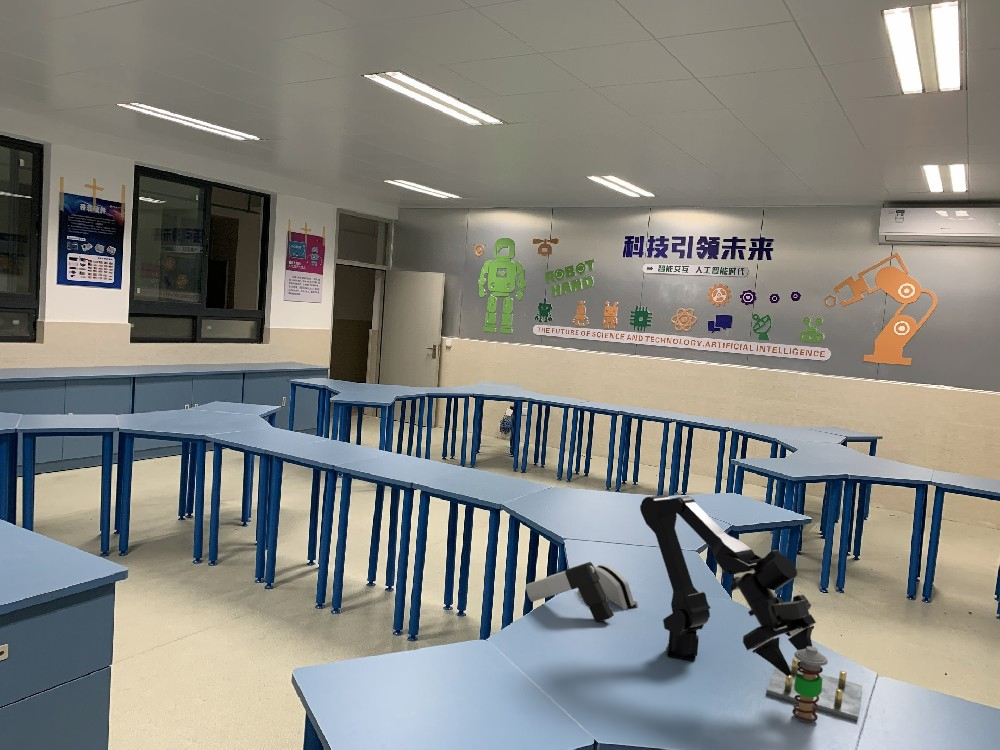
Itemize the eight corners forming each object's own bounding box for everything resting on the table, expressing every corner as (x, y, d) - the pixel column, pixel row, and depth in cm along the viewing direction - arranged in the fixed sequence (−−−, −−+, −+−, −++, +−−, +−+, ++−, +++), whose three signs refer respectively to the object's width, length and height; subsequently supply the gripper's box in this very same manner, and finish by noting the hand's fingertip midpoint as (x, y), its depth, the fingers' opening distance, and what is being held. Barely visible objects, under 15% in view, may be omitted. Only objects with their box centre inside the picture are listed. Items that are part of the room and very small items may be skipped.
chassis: (766, 694, 159) (767, 676, 159) (777, 667, 173) (779, 650, 173) (857, 721, 151) (859, 702, 150) (861, 690, 165) (863, 672, 164)
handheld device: (608, 619, 190) (587, 563, 193) (541, 637, 201) (522, 584, 204) (615, 614, 193) (593, 559, 196) (548, 633, 204) (529, 581, 207)
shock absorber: (821, 716, 152) (829, 646, 151) (820, 730, 146) (828, 658, 145) (788, 707, 155) (796, 639, 153) (787, 721, 149) (794, 650, 148)
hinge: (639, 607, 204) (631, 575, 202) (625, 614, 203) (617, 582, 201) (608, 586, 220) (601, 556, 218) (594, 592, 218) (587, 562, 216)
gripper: (760, 589, 149) (804, 664, 140) (811, 576, 160) (855, 645, 151) (724, 613, 156) (765, 686, 147) (776, 599, 166) (816, 666, 158)
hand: (802, 670), depth 151 cm, fingers open, 9 cm apart
